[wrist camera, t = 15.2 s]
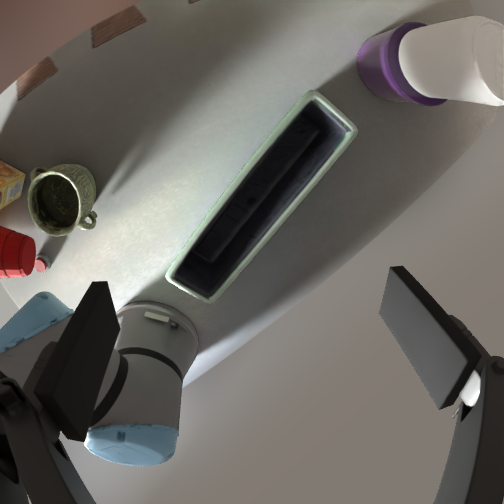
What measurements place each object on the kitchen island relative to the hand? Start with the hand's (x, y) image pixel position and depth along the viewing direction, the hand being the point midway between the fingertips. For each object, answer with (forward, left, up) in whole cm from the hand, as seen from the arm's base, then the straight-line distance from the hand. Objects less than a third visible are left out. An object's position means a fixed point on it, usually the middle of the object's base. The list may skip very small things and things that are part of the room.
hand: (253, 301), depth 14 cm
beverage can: (+15, -20, -19) cm, 31 cm away
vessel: (-1, +23, -28) cm, 36 cm away
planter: (-3, -2, -28) cm, 28 cm away
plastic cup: (-9, +31, -24) cm, 41 cm away
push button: (-12, +32, -28) cm, 44 cm away
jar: (+15, -20, -28) cm, 37 cm away
